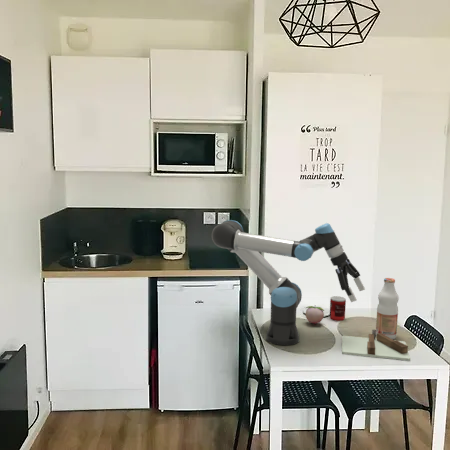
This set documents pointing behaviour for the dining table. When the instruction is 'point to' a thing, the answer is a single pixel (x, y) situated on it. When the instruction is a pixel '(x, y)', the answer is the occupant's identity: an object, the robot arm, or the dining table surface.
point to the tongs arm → (392, 343)
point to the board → (360, 348)
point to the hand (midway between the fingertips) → (358, 295)
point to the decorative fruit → (314, 314)
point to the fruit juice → (387, 310)
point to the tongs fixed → (371, 343)
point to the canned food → (337, 308)
